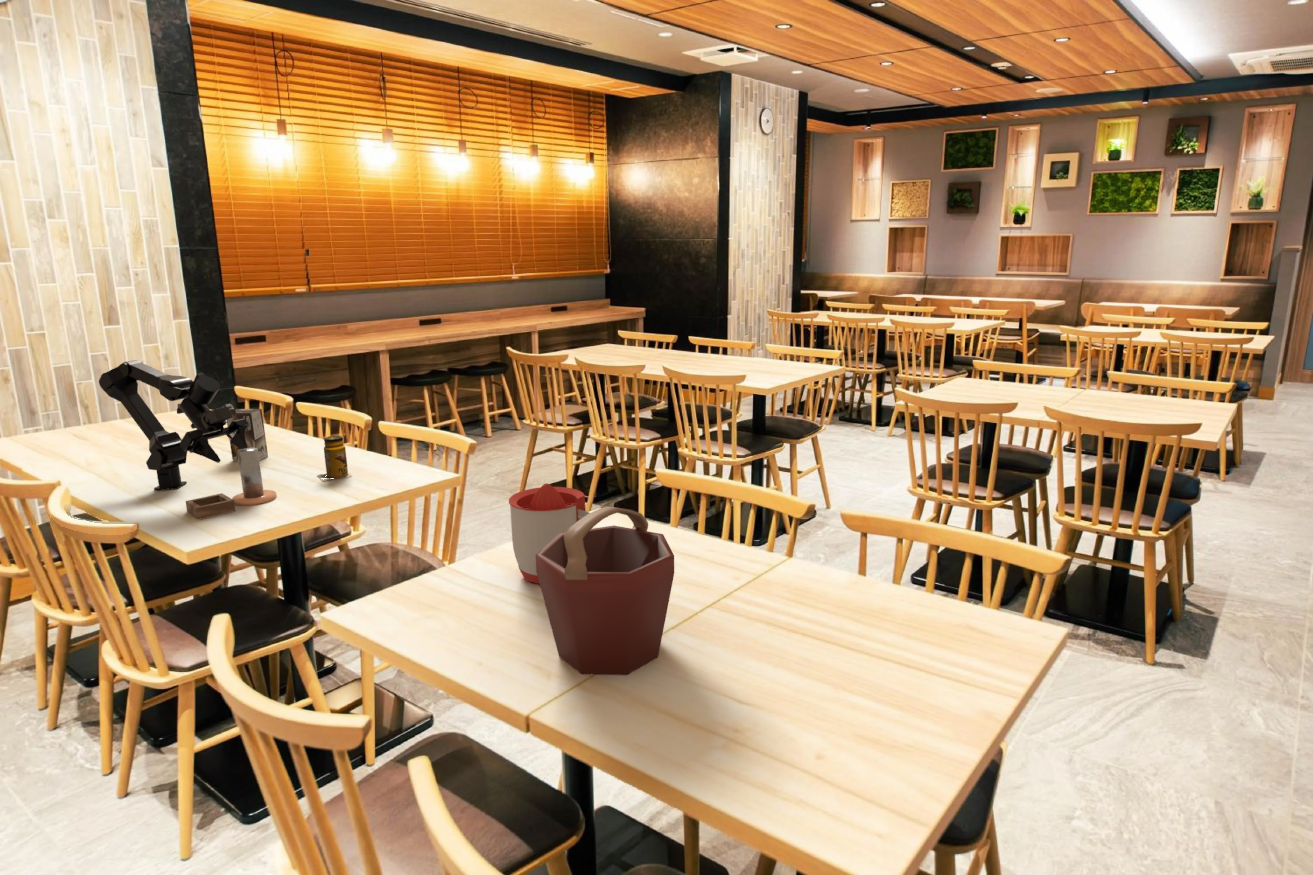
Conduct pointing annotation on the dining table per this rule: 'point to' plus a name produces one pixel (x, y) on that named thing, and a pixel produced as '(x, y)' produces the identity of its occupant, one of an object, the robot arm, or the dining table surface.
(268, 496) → the coaster
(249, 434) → the coffee box
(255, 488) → the peg
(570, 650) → the bucket
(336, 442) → the condiment
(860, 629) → the dining table surface
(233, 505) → the pocket block
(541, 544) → the citrus juicer
